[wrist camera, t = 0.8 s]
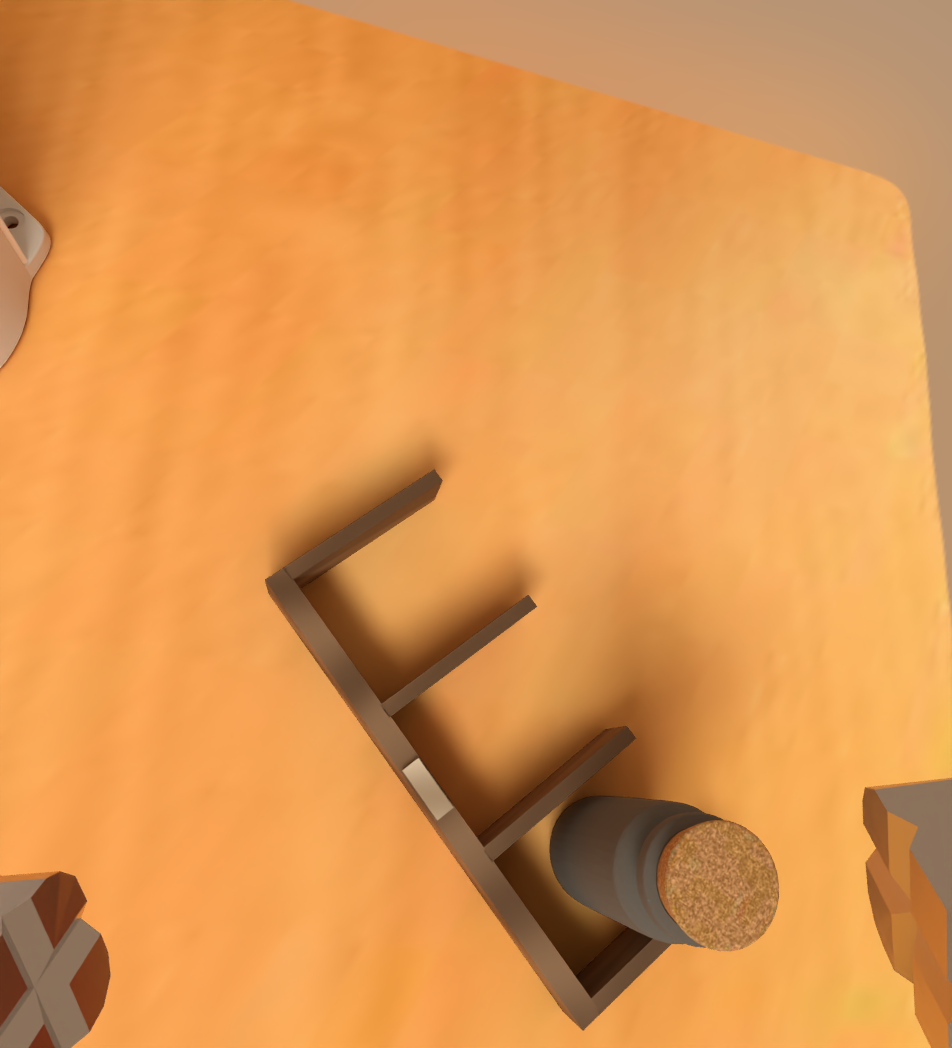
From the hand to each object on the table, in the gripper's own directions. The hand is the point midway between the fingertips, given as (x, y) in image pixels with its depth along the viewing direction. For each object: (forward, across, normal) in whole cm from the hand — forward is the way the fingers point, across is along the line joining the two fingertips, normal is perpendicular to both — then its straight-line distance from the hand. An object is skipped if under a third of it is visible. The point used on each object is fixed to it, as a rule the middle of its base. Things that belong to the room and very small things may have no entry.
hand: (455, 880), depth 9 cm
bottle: (+32, 0, +27) cm, 41 cm away
